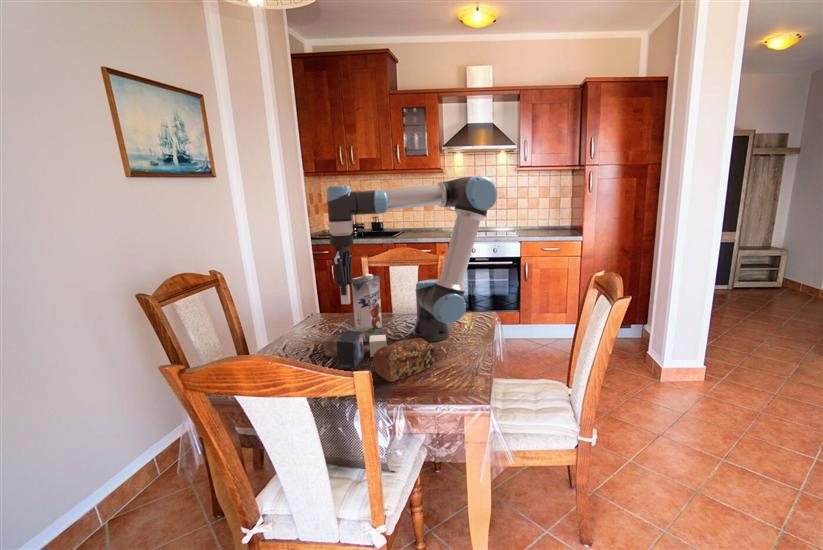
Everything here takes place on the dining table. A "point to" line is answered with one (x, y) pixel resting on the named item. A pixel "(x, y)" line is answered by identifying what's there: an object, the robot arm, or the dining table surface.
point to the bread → (403, 359)
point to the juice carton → (367, 305)
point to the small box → (350, 350)
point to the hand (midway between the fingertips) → (345, 303)
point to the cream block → (376, 343)
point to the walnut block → (331, 345)
